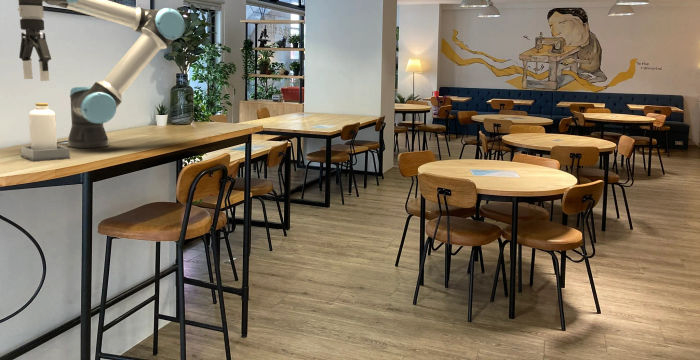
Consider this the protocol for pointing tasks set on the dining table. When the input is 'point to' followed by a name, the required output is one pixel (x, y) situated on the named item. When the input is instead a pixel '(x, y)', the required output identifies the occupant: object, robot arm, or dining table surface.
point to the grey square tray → (45, 153)
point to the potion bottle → (42, 128)
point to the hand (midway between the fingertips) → (36, 79)
